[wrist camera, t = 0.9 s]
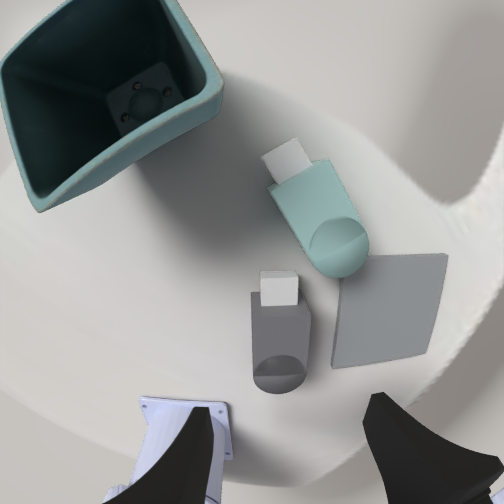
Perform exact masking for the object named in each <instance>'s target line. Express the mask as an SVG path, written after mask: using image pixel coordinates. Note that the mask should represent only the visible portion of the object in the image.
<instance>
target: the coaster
mask: <svg viewBox="0 0 504 504" xmlns="http://www.w3.org/2000/svg"><path fill="white" fill-rule="evenodd" d="M447 261H448V255H446V254H444V253H440V254H413V255H385V256H367V257H366V259H365V261H364V263H363V264H362V266H361V267H360V268H359V269H358V270H357V271H356V272H354V273H353V274H351V275H349V276H346V277H342V278H341V283H340V294H339V304H338V313H337V321H336V329H335V337H334V345H333V352H332V358H331V367H332V369H337V368H345V367H353V366H360V365H367V364H373V363H379V362H385V361H391V360H396V359H401V358H407V357H411V356H416V355H421V354H425V353H426V351H427V347H428V344H429V341H430V337H431V334H432V330H433V327H434V323H435V319H436V315H437V311H438V307H439V303H440V298H441V294H442V289H443V284H444V278H445V273H446V267H447Z"/></svg>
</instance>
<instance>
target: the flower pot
mask: <svg viewBox="0 0 504 504" xmlns="http://www.w3.org/2000/svg"><path fill="white" fill-rule="evenodd" d="M137 83H140V84H141V87H140V88H139V89H138V90H135V89H134V85H135V84H137ZM167 89H170V90H171V94H170V95H169V96H165V95H164V91H165V90H167ZM223 90H224V80H223V77H222V74H221V72H220V70H219V68H218V67H217V65H216V64H215V62H214V60H213V59H212V57H211V55H210V53H209V52H208V50H207V49H206V47H205V46H204V44H203V42H202V40H201V38H200V37H199V35H198V34H197V32H196V30H195V29H194V27H193V26H192V24H191V22H190V21H189V19H188V17H187V16H186V14H185V13H184V11H183V10H182V8H181V6H180V5H179V3H178V1H177V0H66V1H65V2H63V3H62V4H61V5H60V6H58V7H57V8H56V9H55V10H53V11H52V12H51V13H50V14H48V15H47V16H46V17H45V18H43V19H42V20H41V21H40V22H39V23H38V24H37V25H35V26H34V27H33V28H32V29H31V30H30V31H29V32H28V33H27V34H26V35H25V36H24V37H22V38H21V39H20V40H19V41H18V42H17V43H16V44H15V45H14V46H13V48H11V50H10V51H9V52H8V53H7V54H6V55H5V56H4V57H3V59H2V60H1V61H0V102H1V107H2V111H3V116H4V120H5V124H6V128H7V132H8V135H9V139H10V143H11V146H12V149H13V153H14V156H15V159H16V162H17V166H18V169H19V171H20V175H21V178H22V180H23V183H24V187H25V189H26V192H27V196H28V198H29V200H30V202H31V204H32V206H33V207H34V209H35V210H36V211H37V212H38V213H42V212H44V211H46V210H49V209H51V208H53V207H55V206H57V205H59V204H62V203H64V202H66V201H68V200H70V199H72V198H75V197H77V196H79V195H81V194H83V193H86V192H88V191H90V190H92V189H94V188H96V187H98V186H100V185H102V184H103V183H105V182H106V181H108V180H109V179H111V178H112V177H114V176H115V175H116V174H118V173H119V172H121V171H122V170H124V169H125V168H127V167H128V166H130V165H131V164H133V163H134V162H136V161H137V160H139V159H141V158H142V157H144V156H145V155H147V154H149V153H150V152H152V151H154V150H155V149H157V148H159V147H160V146H162V145H164V144H165V143H167V142H169V141H171V140H173V139H174V138H176V137H178V136H180V135H182V134H184V133H185V132H187V131H189V130H191V129H193V128H195V127H197V126H199V125H201V124H203V123H205V122H207V121H209V120H211V119H212V118H214V117H215V116H216V115H217V113H218V112H219V109H220V105H221V100H222V95H223ZM125 114H127V115H129V119H128V121H126V122H124V121H123V120H122V118H123V116H124V115H125Z"/></svg>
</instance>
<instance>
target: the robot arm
mask: <svg viewBox="0 0 504 504" xmlns="http://www.w3.org/2000/svg"><path fill="white" fill-rule="evenodd" d="M139 404H140V407H141V409H142V412H143V415H144V417H145V420H146V422H147V425H148V428H147V431H146V434H145V437H144V440H143V443H142V446H141V449H140V452H139V455H138V458H137V461H136V464H135V467H134V470H133V474H132V477H131V480H130V483H129V485H128V486H125V485H122V484H120V485H118V486H115V487H112V488H110V490H109V492H108V493H107V495H106V497H105V499H104V502H103V504H221V493H222V479H223V464H224V460H228V461H229V460H233V449H232V442H231V434H230V426H229V418H228V410H227V405H226V404H225V403H223V402H203V401H184V400H171V399H160V398H150V397H140V399H139ZM220 410H222V411H220ZM363 426H364V431H365V434H366V438H367V441H368V444H369V446H370V449H371V451H372V454H373V456H374V459H375V461H376V463H377V466H378V468H379V471H380V473H381V476H382V479H383V482H384V486H385V490H386V494H387V498H388V504H504V488H503V489H501V490H500V491H499V492H497V493H496V494H495V495H493V496H492V497H491V498H490V496H489V495H488V494H490V493H491V490H490V488H489V487H490V486H491V485H492V484H493V483H494V482H495V481H496V480H497V479H498V478H499V477H500V475H501V474H502V473H503V472H504V466H503V464H502V462H501V461H500V459H499V458H498V457H497V456H492V455H487V454H482V453H478V452H475V451H472V450H469V449H466V448H463V447H461V446H459V445H456V444H454V443H452V442H450V441H448V440H446V439H444V438H442V437H440V436H439V435H437V434H435V433H434V432H432V431H430V430H429V429H428V428H426V427H425V426H423V425H422V424H421V423H419V422H418V421H417V420H415V419H414V418H413V417H412V416H411V415H409V414H408V413H407V412H406V411H405V410H403V409H402V408H401V407H400V406H399V405H398V404H397V403H395V402H394V401H393V400H392V399H391V398H390V397H389V396H388V395H386V394H385V393H384V392H381V393H376V394H372V395H371V398H370V402H369V405H368V408H367V411H366V414H365V417H364V420H363Z"/></svg>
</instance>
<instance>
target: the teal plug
mask: <svg viewBox="0 0 504 504" xmlns="http://www.w3.org/2000/svg"><path fill="white" fill-rule="evenodd" d="M261 159H262V161H263V162H264V164H265V166H266V167H267V169H268V170H269V172H270V174H271V175H272V177H273V179H274V180H275V182H276V183H274V184H273V185H271V186H269V187H268V188H267V189H268V191H269V193H270V194H271V196H272V198H273V199H274V201H275V203H276V204H277V206H278V208H279V210H280V211H281V213H282V215H283V216H284V218H285V220H286V221H287V223H288V225H289V227H290V228H291V230H292V232H293V233H294V235H295V237H296V239H297V240H298V242H299V244H300V246H301V247H302V249H303V250H304V252H305V253H306V255H307V256H308V258H309V259H310V261H311V262H312V264H313V265H314V266H315V268H316V269H317V270H318V271H319V272H320V273H322V274H323V275H325V276H328V277H331V278H342V277H346V276H349V275H351V274H353V273H354V272H356V271H357V270H358V269H359V268H360V267H361V266H362V264H363V263H364V261H365V259H366V257H367V254H368V249H369V240H368V236H367V233H366V231H365V229H364V226H363V224H362V222H361V220H360V218H359V216H358V214H357V212H356V210H355V208H354V206H353V204H352V202H351V200H350V198H349V196H348V194H347V192H346V190H345V188H344V186H343V184H342V182H341V180H340V179H339V177H338V175H337V173H336V171H335V169H334V167H333V166H332V164H331V162H330V160H329V159H324V160H318V161H313V162H311V161H310V159H309V157H308V156H307V154H306V152H305V151H304V149H303V147H302V146H301V144H300V142H299V141H298V139H297V137H295V138H293V139H291V140H289V141H287V142H286V143H284V144H282V145H280V146H279V147H277V148H275V149H273V150H271V151H270V152H268V153H266V154H265V155H263V156H261Z"/></svg>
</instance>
